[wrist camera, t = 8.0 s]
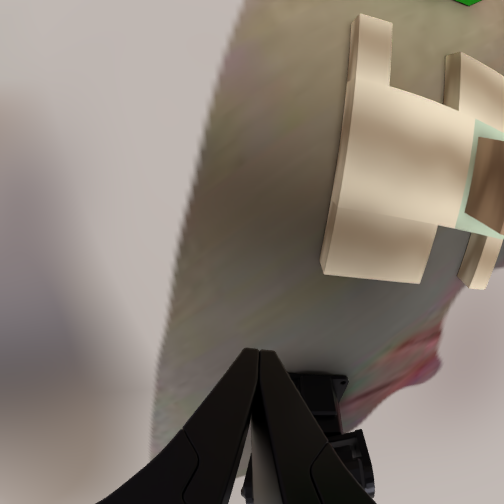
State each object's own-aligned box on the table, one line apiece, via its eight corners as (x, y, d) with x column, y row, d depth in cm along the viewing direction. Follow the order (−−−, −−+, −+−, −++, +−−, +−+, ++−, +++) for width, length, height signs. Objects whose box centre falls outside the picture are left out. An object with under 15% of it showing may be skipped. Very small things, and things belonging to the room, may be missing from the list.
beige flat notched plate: (472, 277, 19) (484, 289, 18) (319, 260, 20) (324, 274, 18) (510, 91, 13) (526, 92, 11) (351, 23, 13) (359, 13, 11)
